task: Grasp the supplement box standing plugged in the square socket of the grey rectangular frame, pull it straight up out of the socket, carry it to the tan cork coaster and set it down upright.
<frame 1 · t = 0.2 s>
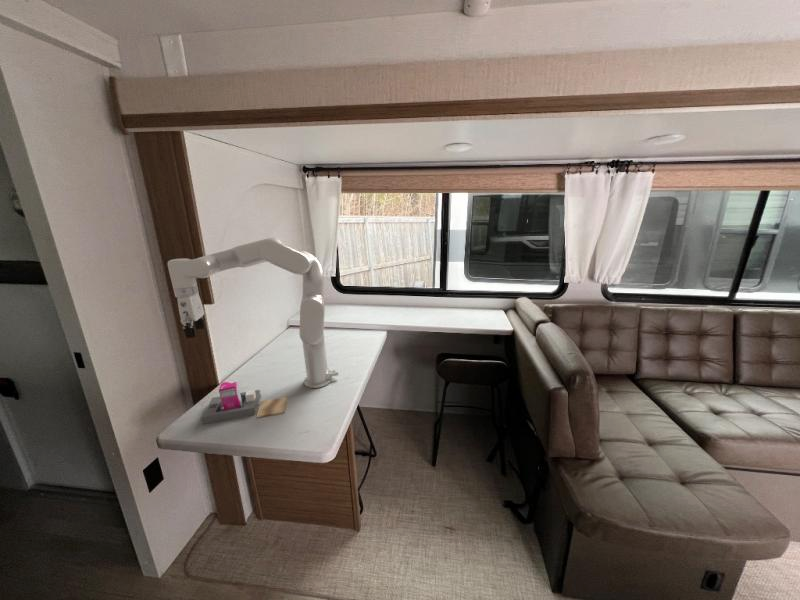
hand: (196, 332, 117), 30 cm above the table, fingers open, 9 cm apart
coaster: (272, 407, 118), on the table
grey rectangular frame: (233, 409, 118), on the table
supplement box: (233, 409, 118), resting in grey rectangular frame
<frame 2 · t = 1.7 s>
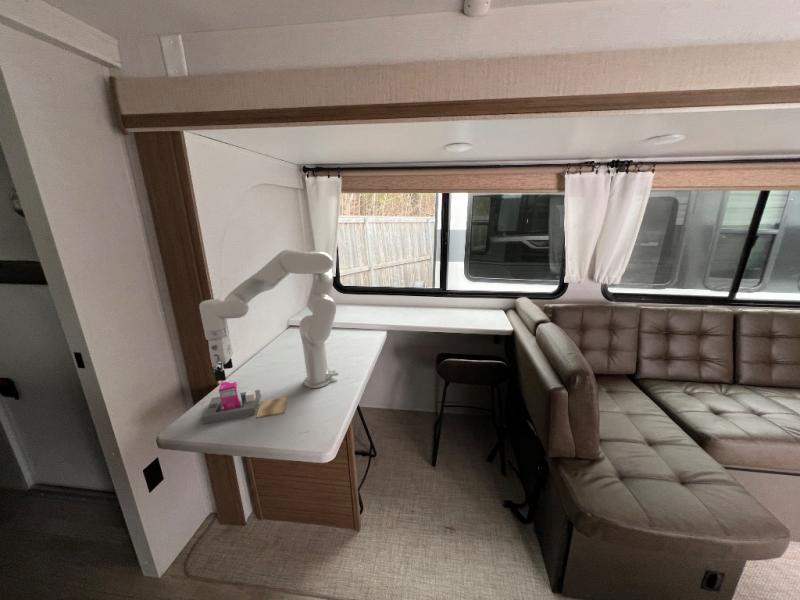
hand: (224, 374, 113), 16 cm above the table, fingers open, 9 cm apart
nothing on the table moved.
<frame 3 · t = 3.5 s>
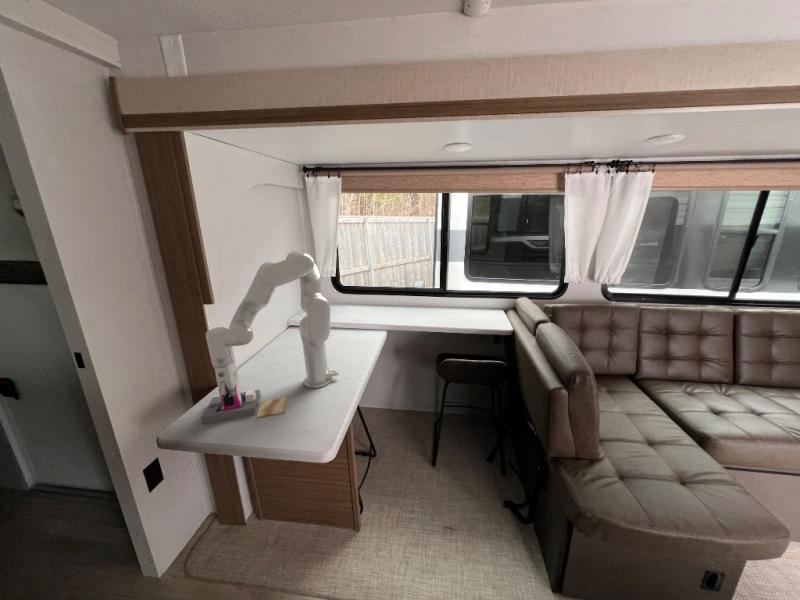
hand: (231, 400, 117), 4 cm above the table, fingers closed on supplement box, 6 cm apart
supplement box: (233, 409, 118), resting in grey rectangular frame, touching gripper
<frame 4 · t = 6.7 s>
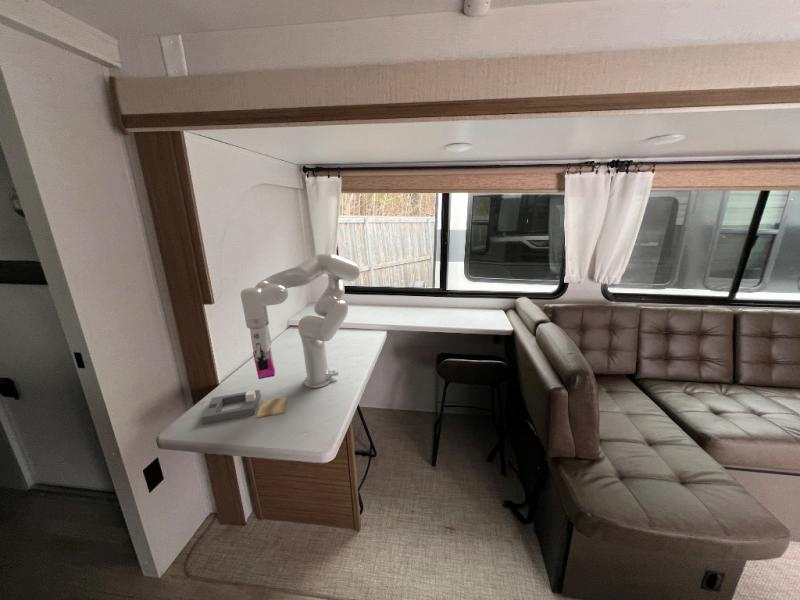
hand: (265, 364, 113), 19 cm above the table, fingers closed on supplement box, 6 cm apart
supplement box: (266, 374, 114), point 15 cm above the table, touching gripper
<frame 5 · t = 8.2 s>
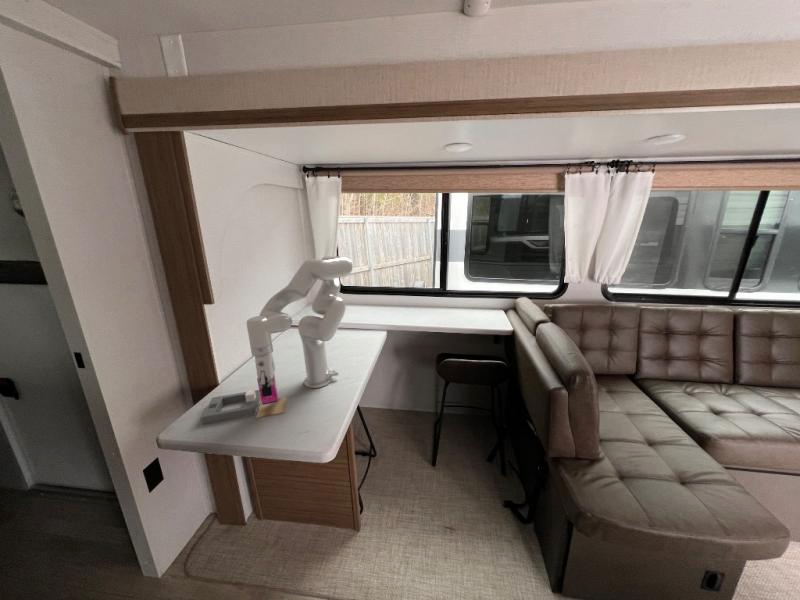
hand: (268, 390, 116), 8 cm above the table, fingers closed on supplement box, 6 cm apart
supplement box: (270, 400, 117), point 4 cm above the table, touching gripper
when the fingers open (5 cm above the table, at t = 9.6 s): supplement box stays where it is, resting on coaster.
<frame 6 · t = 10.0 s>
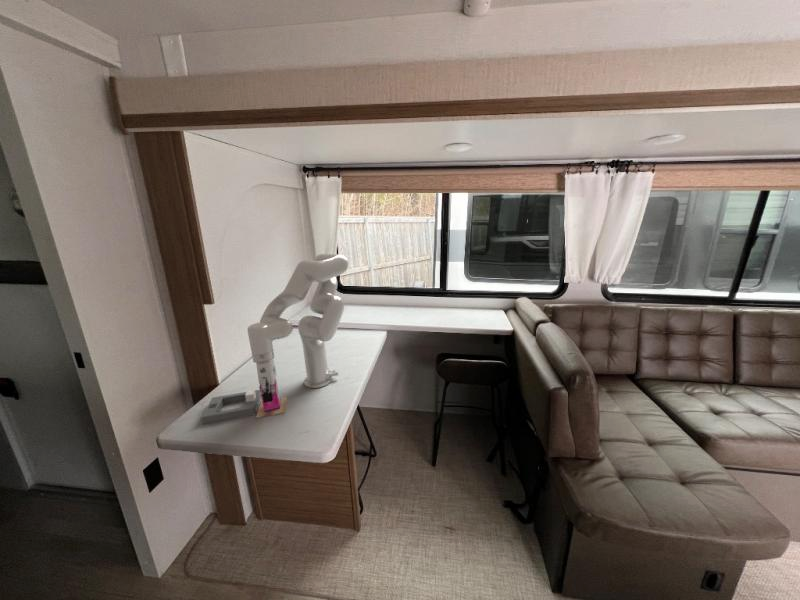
hand: (270, 394, 116), 6 cm above the table, fingers open, 9 cm apart
supplement box: (272, 407, 118), resting on coaster
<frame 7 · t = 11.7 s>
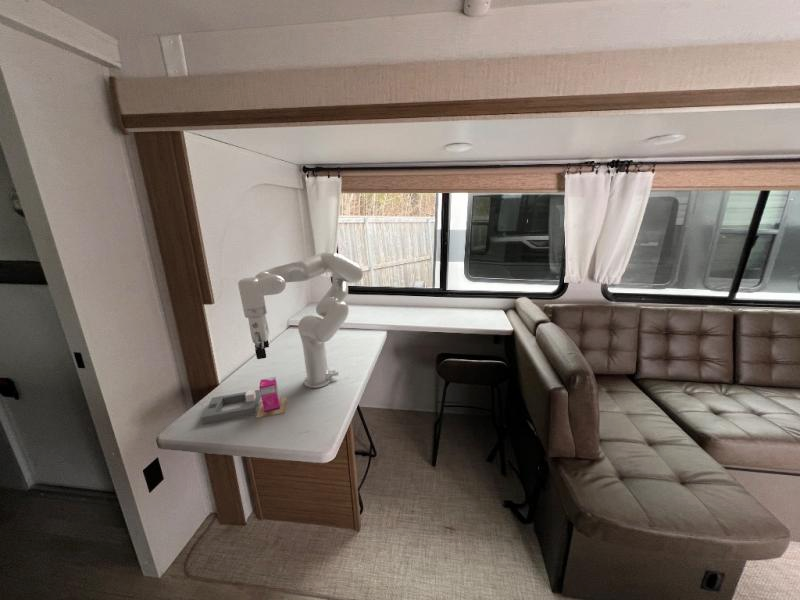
hand: (263, 352, 114), 23 cm above the table, fingers open, 9 cm apart
nothing on the table moved.
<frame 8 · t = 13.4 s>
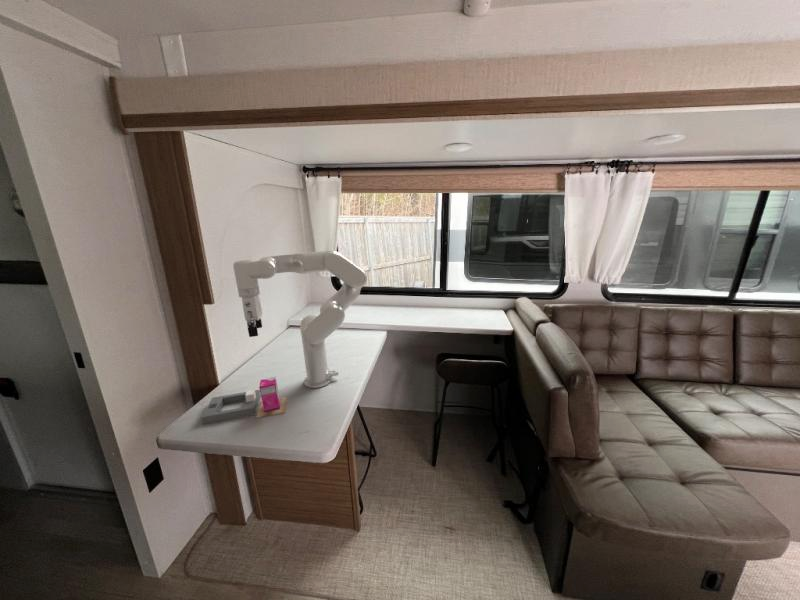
hand: (256, 331, 121), 28 cm above the table, fingers open, 9 cm apart
nothing on the table moved.
at the end: supplement box inside the target area on the coaster (0.1 cm from its centre), point 0.4 cm above the coaster's base; supplement box tilted 0°; supplement box touching coaster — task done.
